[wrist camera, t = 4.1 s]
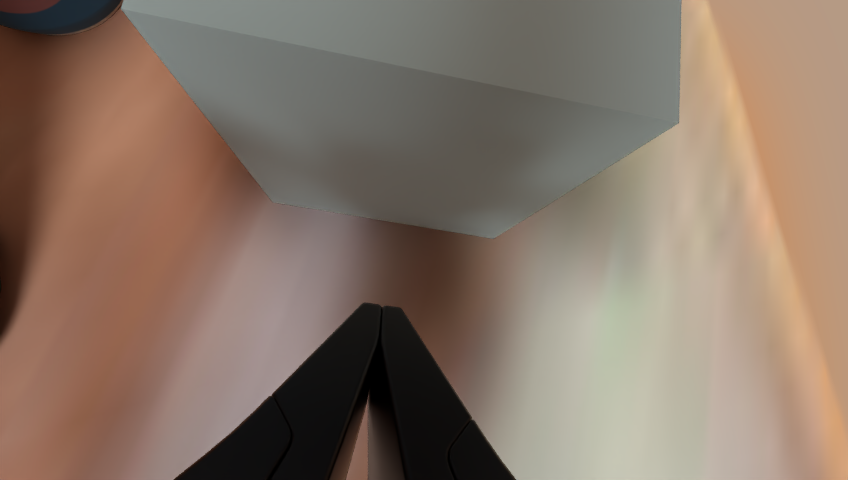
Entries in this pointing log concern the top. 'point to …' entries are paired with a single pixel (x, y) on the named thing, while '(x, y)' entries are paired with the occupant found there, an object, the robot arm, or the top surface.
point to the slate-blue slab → (424, 97)
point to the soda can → (56, 15)
